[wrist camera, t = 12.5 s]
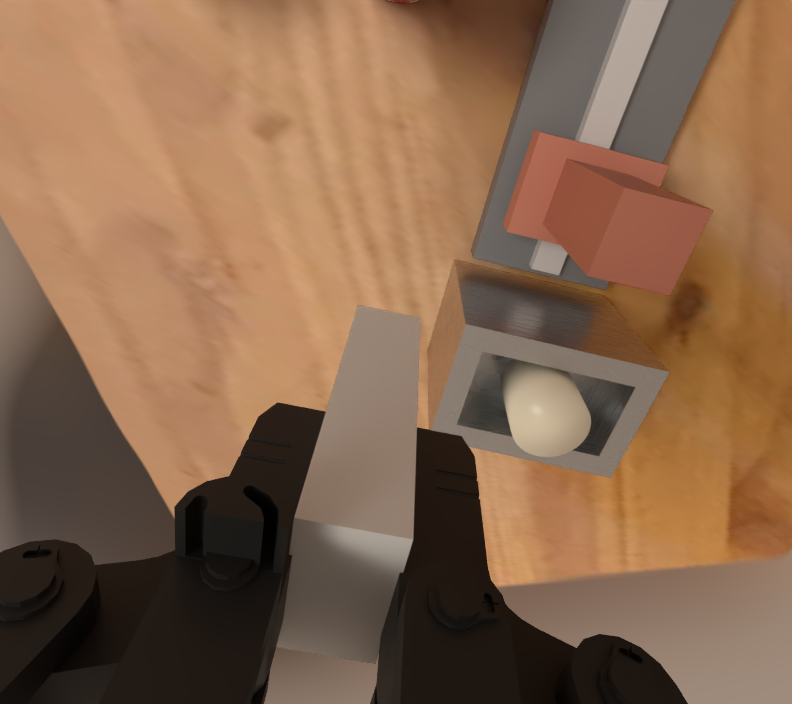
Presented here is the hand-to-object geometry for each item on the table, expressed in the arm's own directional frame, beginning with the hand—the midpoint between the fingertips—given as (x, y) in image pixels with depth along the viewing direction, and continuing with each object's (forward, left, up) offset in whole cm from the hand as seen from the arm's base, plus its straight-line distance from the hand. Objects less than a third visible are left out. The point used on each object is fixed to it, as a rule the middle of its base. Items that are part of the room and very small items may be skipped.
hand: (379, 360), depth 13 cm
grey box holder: (+9, +11, -27) cm, 30 cm away
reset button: (+9, +11, -18) cm, 23 cm away
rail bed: (-7, +11, -27) cm, 30 cm away
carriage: (-2, +11, -24) cm, 26 cm away
